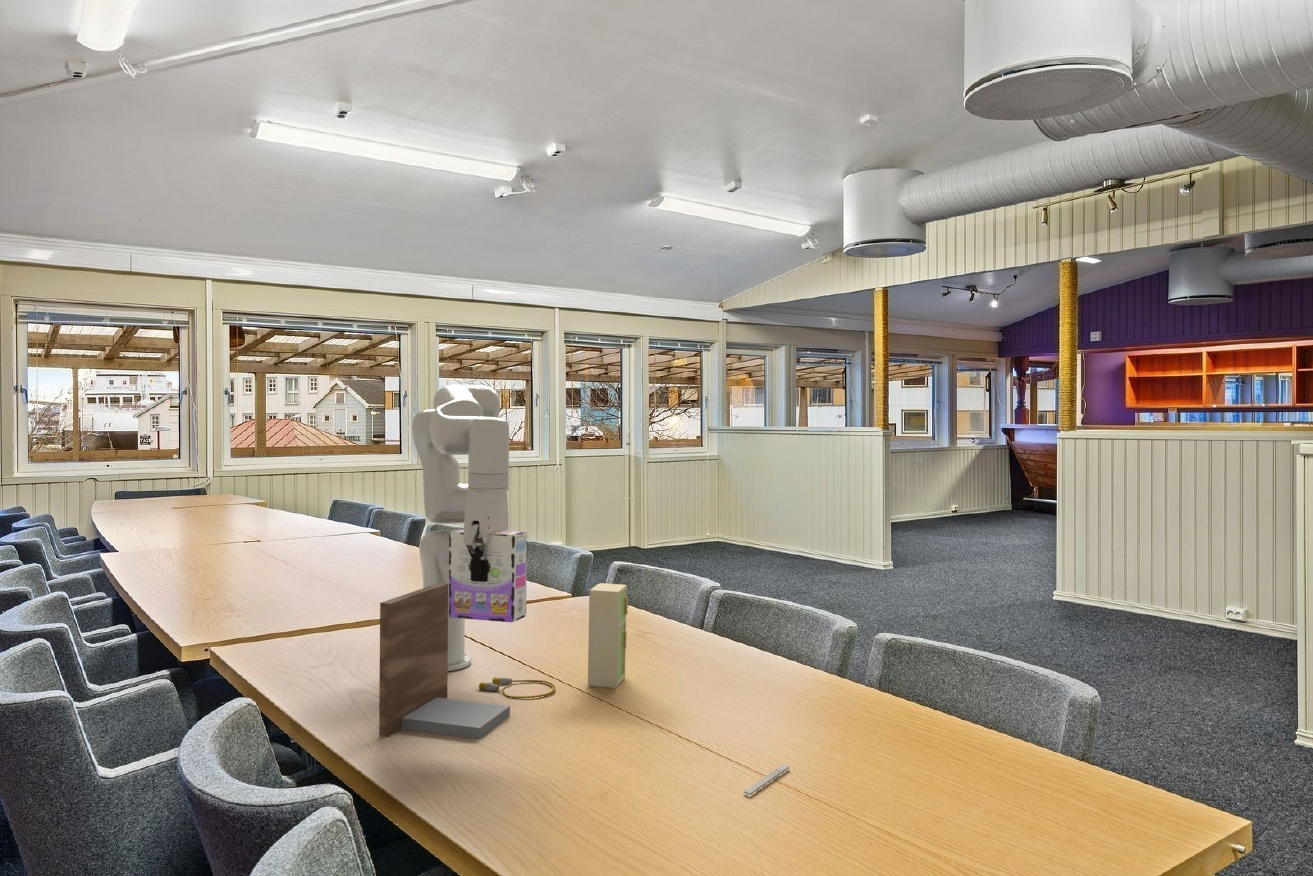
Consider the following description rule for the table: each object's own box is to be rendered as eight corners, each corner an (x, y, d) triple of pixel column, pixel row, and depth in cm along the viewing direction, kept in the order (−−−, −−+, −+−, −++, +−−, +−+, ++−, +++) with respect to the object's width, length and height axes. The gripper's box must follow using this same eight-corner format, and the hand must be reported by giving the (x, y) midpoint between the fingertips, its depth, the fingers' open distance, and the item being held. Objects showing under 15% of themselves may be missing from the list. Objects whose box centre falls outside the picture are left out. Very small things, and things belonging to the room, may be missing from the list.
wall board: (379, 735, 146) (380, 602, 145) (438, 700, 165) (439, 582, 165) (388, 736, 145) (389, 603, 145) (447, 701, 164) (448, 583, 164)
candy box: (527, 617, 153) (528, 530, 153) (512, 624, 148) (514, 534, 148) (463, 611, 158) (464, 527, 157) (447, 617, 152) (448, 530, 152)
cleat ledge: (401, 728, 149) (401, 718, 149) (436, 707, 161) (436, 697, 161) (479, 739, 145) (479, 728, 145) (509, 716, 156) (509, 706, 156)
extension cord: (517, 677, 182) (517, 668, 182) (567, 692, 172) (567, 683, 172) (474, 690, 173) (474, 681, 173) (524, 707, 163) (524, 697, 163)
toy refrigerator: (620, 689, 173) (621, 591, 173) (587, 686, 175) (588, 589, 175) (628, 677, 181) (630, 584, 181) (597, 675, 183) (598, 582, 182)
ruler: (750, 799, 123) (750, 793, 123) (743, 797, 124) (743, 791, 124) (788, 772, 133) (788, 766, 133) (782, 770, 134) (782, 764, 134)
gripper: (490, 479, 162) (490, 569, 162) (447, 485, 145) (446, 585, 145) (525, 480, 160) (524, 571, 160) (485, 486, 143) (484, 588, 143)
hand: (487, 577), depth 153 cm, fingers closed on candy box, 6 cm apart
